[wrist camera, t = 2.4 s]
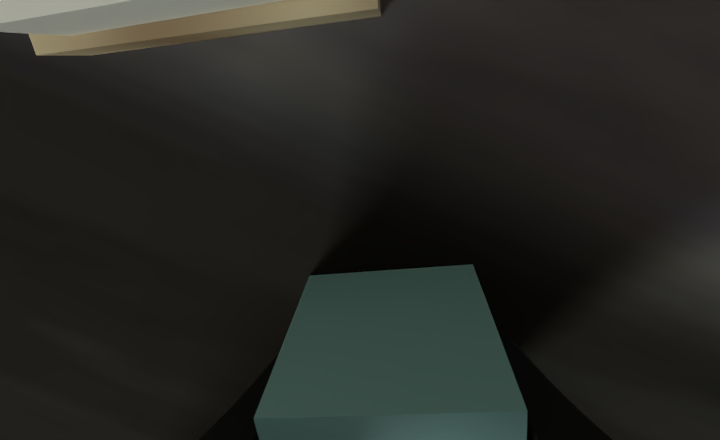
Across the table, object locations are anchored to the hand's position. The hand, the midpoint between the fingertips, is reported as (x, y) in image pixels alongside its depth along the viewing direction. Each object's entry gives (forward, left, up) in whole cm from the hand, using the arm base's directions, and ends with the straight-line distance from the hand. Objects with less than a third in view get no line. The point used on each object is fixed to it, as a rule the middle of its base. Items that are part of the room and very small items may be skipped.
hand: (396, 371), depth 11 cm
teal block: (0, 0, -1) cm, 1 cm away
